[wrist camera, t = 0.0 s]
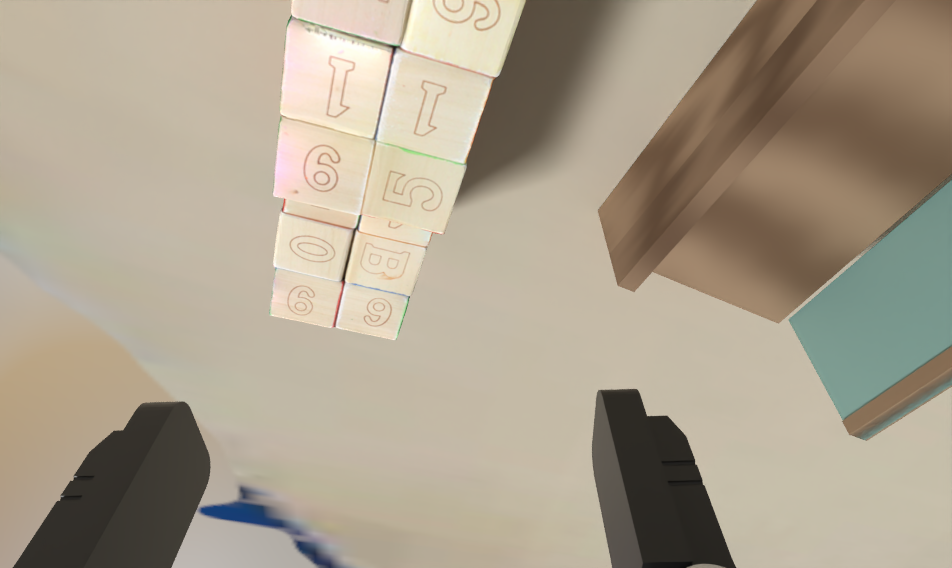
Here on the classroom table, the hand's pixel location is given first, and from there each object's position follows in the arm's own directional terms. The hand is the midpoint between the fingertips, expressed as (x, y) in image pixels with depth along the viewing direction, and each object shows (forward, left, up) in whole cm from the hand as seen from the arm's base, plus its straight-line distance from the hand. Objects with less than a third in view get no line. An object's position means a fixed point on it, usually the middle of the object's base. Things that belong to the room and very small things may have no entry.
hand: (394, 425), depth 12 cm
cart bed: (-5, +19, -22) cm, 30 cm away
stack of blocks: (+2, -1, -23) cm, 23 cm away
